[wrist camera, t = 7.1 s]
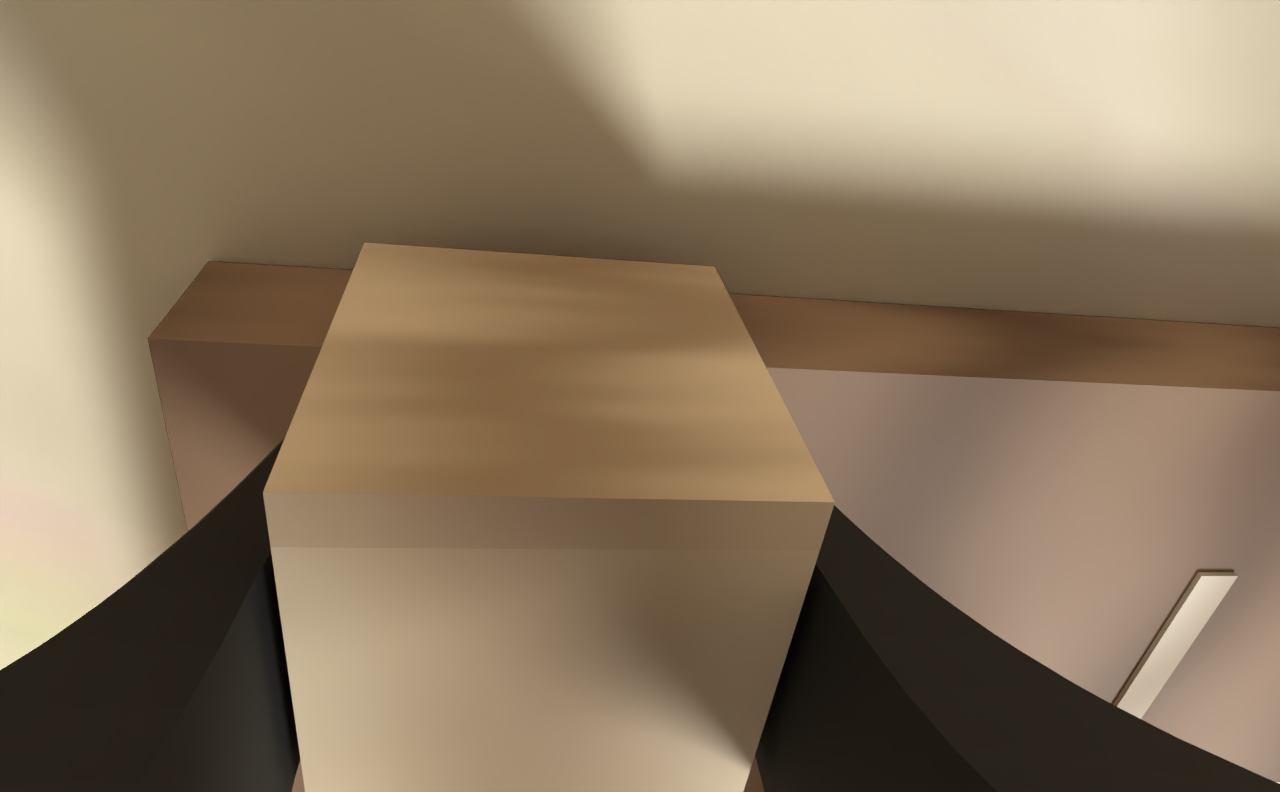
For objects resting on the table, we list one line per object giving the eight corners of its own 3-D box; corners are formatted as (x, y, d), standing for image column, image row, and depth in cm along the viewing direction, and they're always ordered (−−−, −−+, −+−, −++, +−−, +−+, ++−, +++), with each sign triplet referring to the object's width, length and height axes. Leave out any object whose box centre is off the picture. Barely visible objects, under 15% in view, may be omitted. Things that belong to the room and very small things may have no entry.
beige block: (713, 266, 12) (834, 502, 8) (647, 625, 16) (701, 924, 12) (364, 242, 11) (262, 493, 7) (383, 627, 15) (327, 952, 11)
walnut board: (1478, 340, 17) (1621, 410, 15) (1215, 696, 22) (1290, 785, 20) (208, 261, 13) (145, 342, 10) (280, 724, 18) (249, 840, 16)
